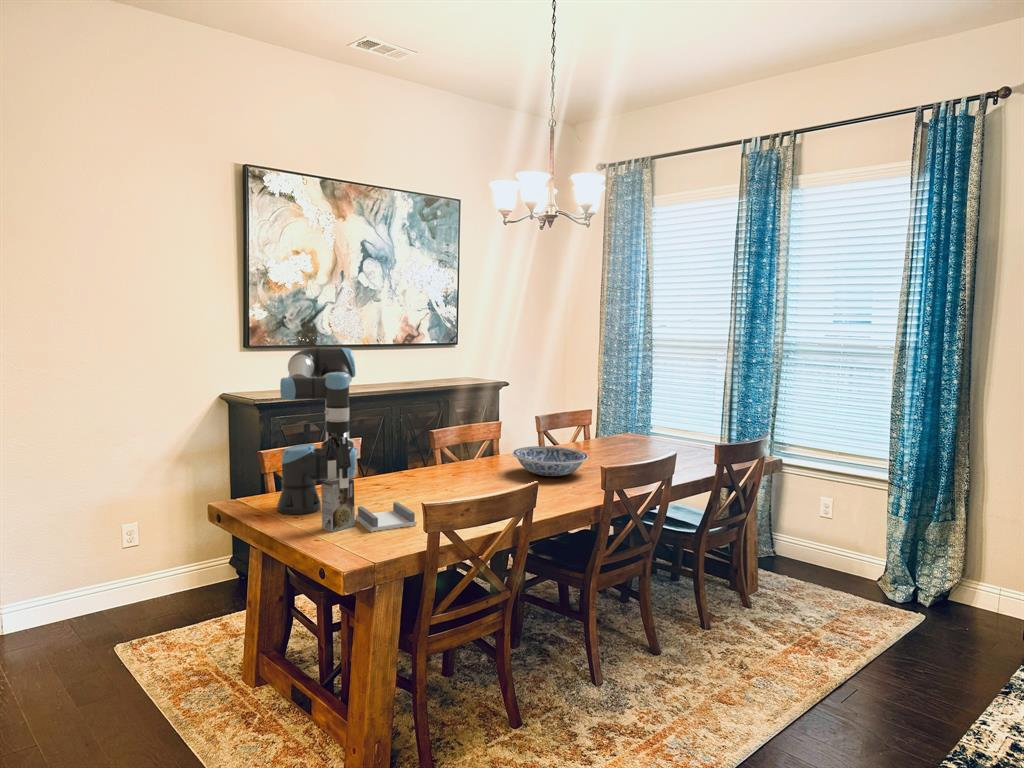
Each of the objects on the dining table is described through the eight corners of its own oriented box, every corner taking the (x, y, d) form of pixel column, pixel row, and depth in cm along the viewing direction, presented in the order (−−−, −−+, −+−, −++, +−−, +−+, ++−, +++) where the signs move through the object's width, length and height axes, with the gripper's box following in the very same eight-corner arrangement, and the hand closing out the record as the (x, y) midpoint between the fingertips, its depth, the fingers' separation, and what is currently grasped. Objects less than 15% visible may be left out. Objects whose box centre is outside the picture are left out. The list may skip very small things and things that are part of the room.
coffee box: (343, 522, 242) (343, 476, 240) (355, 526, 238) (355, 479, 236) (320, 528, 235) (320, 480, 233) (332, 532, 231) (332, 484, 229)
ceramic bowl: (560, 487, 297) (561, 464, 296) (496, 475, 318) (497, 453, 317) (601, 473, 324) (602, 452, 323) (540, 463, 345) (540, 443, 344)
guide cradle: (355, 519, 246) (355, 507, 245) (399, 513, 254) (399, 501, 253) (371, 532, 232) (371, 518, 231) (416, 525, 240) (416, 512, 240)
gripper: (316, 416, 242) (316, 477, 243) (337, 425, 220) (337, 492, 222) (337, 415, 245) (338, 475, 247) (360, 424, 224) (361, 490, 226)
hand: (337, 483), depth 235 cm, fingers open, 13 cm apart
